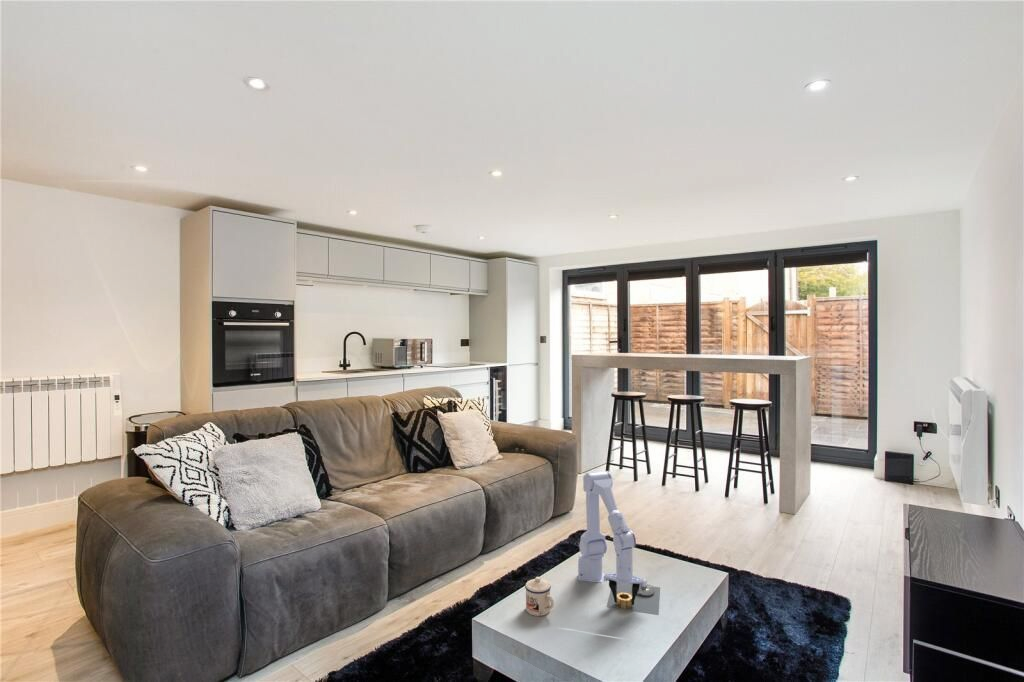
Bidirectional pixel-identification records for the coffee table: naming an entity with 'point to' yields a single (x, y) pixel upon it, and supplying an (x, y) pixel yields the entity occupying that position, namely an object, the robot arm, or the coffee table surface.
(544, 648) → the coffee table surface
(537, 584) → the teacup with lid
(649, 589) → the metal peg stand
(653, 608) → the bench mat
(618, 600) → the ring
